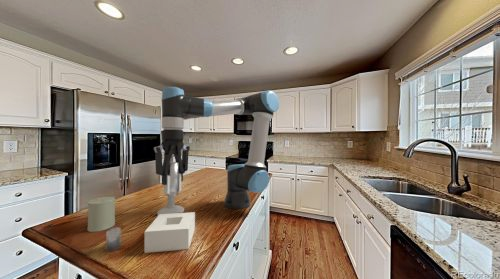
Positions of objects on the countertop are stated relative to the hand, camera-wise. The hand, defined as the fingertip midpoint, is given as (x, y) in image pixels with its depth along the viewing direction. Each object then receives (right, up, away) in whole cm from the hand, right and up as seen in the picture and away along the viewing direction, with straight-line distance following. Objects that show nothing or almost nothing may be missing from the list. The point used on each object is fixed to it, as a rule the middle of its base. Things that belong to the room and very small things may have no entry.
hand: (172, 191), depth 67 cm
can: (-35, -18, +10) cm, 41 cm away
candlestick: (-12, -18, +26) cm, 34 cm away
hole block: (0, -18, 0) cm, 18 cm away
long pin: (0, -1, 0) cm, 1 cm away
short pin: (-18, -18, -5) cm, 26 cm away
